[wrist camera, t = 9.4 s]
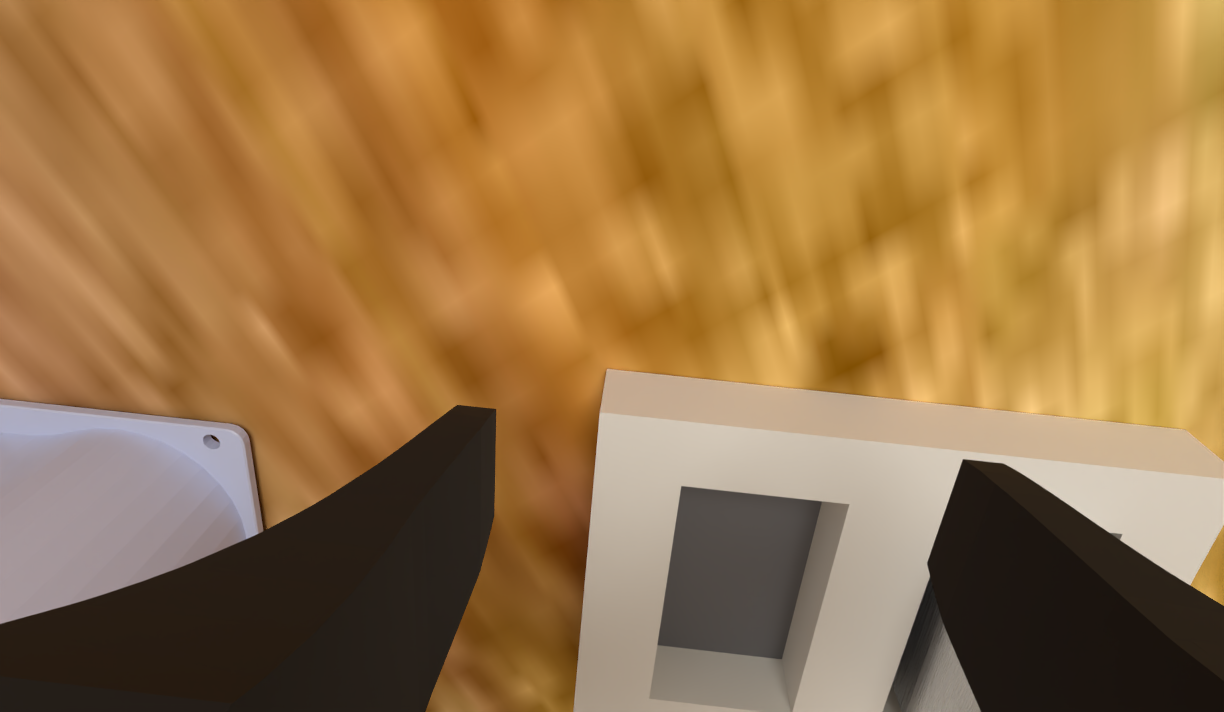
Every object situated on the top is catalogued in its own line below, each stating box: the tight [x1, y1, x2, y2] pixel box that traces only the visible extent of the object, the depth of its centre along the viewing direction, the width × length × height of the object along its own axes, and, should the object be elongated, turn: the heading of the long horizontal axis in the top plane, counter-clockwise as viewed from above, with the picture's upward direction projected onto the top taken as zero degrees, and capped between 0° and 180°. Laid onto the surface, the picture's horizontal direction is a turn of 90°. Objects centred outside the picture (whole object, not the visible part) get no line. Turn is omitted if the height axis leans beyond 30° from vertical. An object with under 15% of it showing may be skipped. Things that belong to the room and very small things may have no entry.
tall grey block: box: [892, 578, 981, 712], centre depth 21 cm, size 4×7×6 cm, turn 176°
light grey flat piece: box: [573, 369, 1224, 712], centre depth 23 cm, size 16×12×2 cm
